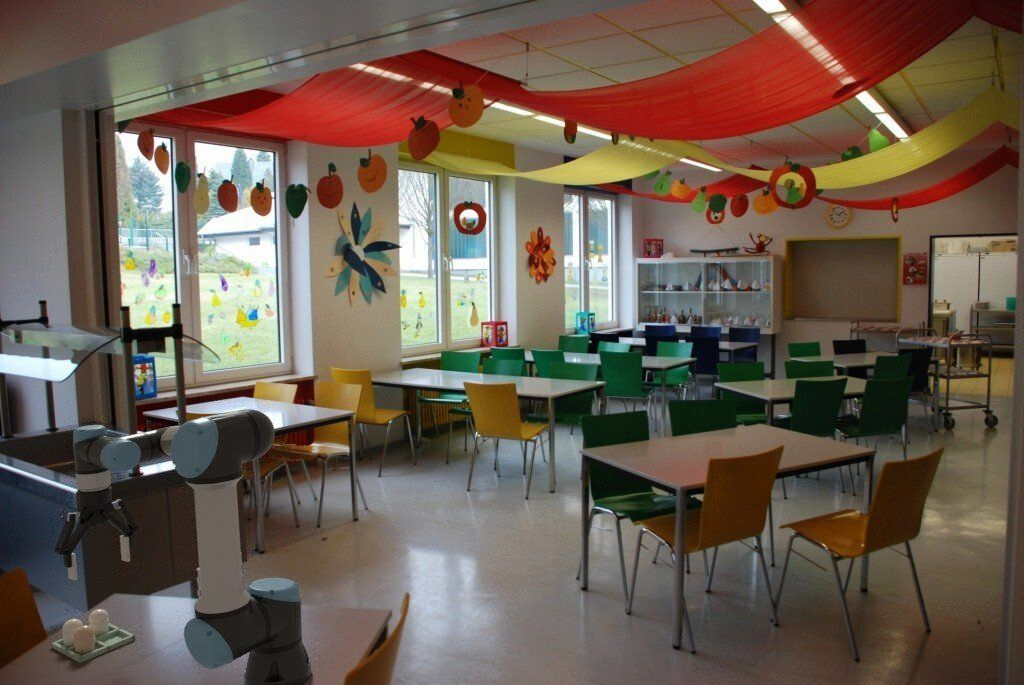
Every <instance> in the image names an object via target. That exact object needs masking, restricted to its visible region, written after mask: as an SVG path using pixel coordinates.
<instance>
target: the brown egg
mask: <svg viewBox="0 0 1024 685" xmlns="http://www.w3.org/2000/svg"><path fill="white" fill-rule="evenodd" d="M74 646H75V653H77V654H79V655H81V656H82V655H85V654H87V653H90V652H92V651H94V650H96V643H95V631H94V629H93V628H92V627H91V626H89V624H88V625H87V624H85V625H84V624H83V626H81V627H79V628H78V629H77V630H76V631H75V633H74Z"/></svg>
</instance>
